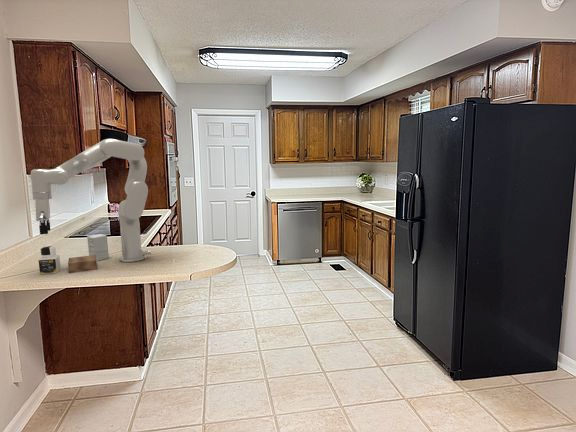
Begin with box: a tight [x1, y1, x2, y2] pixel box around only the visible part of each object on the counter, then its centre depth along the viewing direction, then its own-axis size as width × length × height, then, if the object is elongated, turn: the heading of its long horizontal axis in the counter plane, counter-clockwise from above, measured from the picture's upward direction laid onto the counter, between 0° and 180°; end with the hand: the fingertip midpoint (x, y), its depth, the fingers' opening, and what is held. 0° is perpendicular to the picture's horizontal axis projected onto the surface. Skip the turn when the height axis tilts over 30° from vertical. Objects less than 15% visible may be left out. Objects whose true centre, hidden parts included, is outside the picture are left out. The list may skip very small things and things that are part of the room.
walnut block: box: [67, 255, 98, 274], centre depth 197 cm, size 12×12×5 cm
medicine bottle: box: [38, 245, 62, 275], centre depth 191 cm, size 7×7×12 cm
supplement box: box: [86, 233, 110, 262], centre depth 214 cm, size 7×7×13 cm
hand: (45, 232), depth 189 cm, fingers open, 9 cm apart
